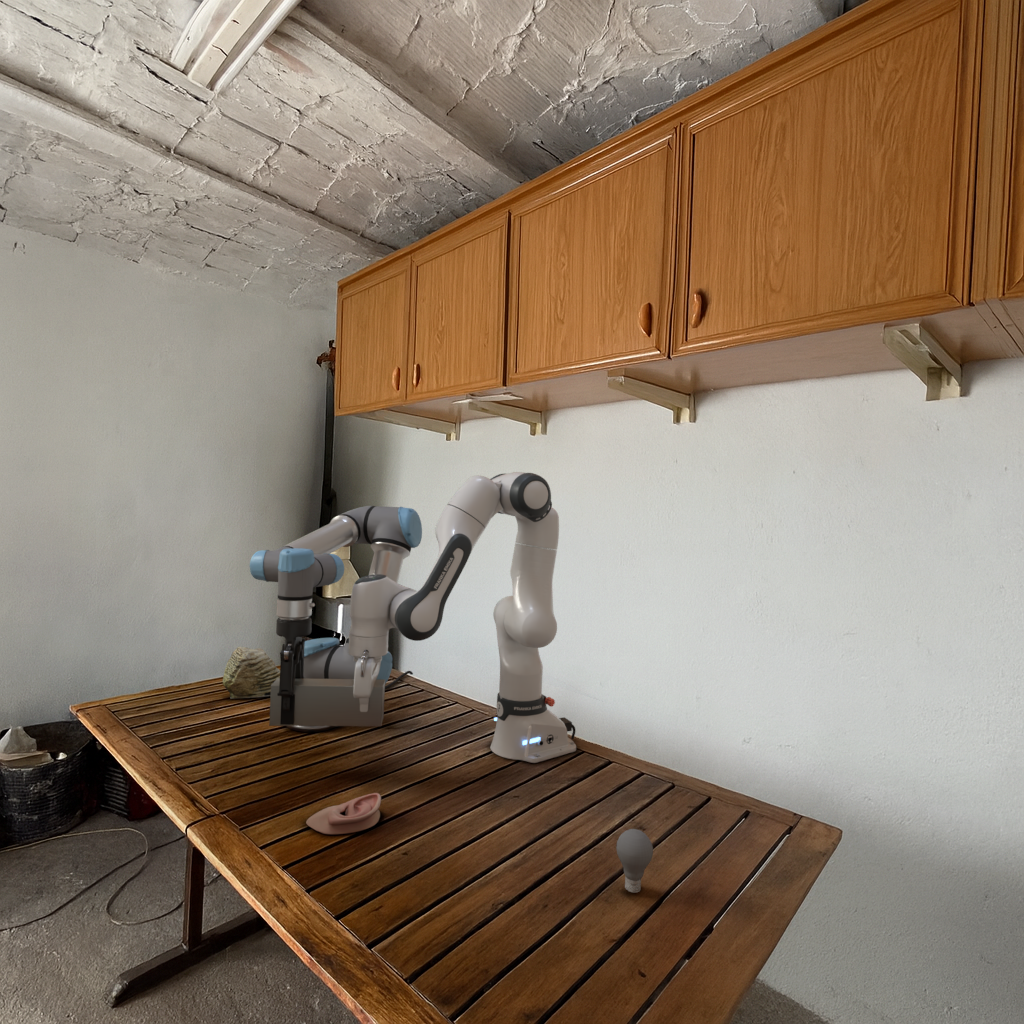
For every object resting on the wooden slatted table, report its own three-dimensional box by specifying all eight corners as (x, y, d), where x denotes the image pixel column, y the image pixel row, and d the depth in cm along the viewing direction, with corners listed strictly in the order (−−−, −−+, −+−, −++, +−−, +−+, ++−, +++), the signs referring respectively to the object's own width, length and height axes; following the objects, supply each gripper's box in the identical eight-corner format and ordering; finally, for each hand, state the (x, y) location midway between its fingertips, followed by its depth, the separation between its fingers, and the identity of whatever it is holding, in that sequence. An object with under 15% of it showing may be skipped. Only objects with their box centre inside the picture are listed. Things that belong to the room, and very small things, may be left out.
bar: (269, 725, 140) (270, 685, 140) (276, 716, 146) (277, 678, 146) (381, 726, 143) (382, 686, 143) (383, 717, 149) (385, 679, 148)
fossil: (218, 695, 195) (220, 647, 195) (278, 685, 208) (279, 640, 207) (228, 703, 189) (230, 653, 188) (289, 692, 201) (290, 645, 201)
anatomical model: (298, 809, 120) (327, 783, 131) (297, 830, 120) (327, 802, 131) (363, 819, 117) (388, 791, 128) (362, 840, 117) (387, 811, 128)
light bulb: (610, 879, 108) (613, 822, 108) (644, 879, 109) (647, 822, 109) (619, 902, 102) (622, 840, 102) (655, 901, 103) (658, 840, 103)
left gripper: (302, 625, 134) (298, 734, 135) (319, 610, 153) (315, 705, 153) (265, 625, 133) (261, 734, 134) (287, 609, 152) (283, 705, 152)
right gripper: (377, 657, 135) (375, 721, 135) (386, 636, 155) (384, 692, 156) (347, 656, 134) (345, 721, 135) (360, 635, 155) (357, 692, 155)
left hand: (290, 718), depth 143 cm, fingers closed on bar, 6 cm apart
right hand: (366, 705), depth 145 cm, fingers closed on bar, 6 cm apart
